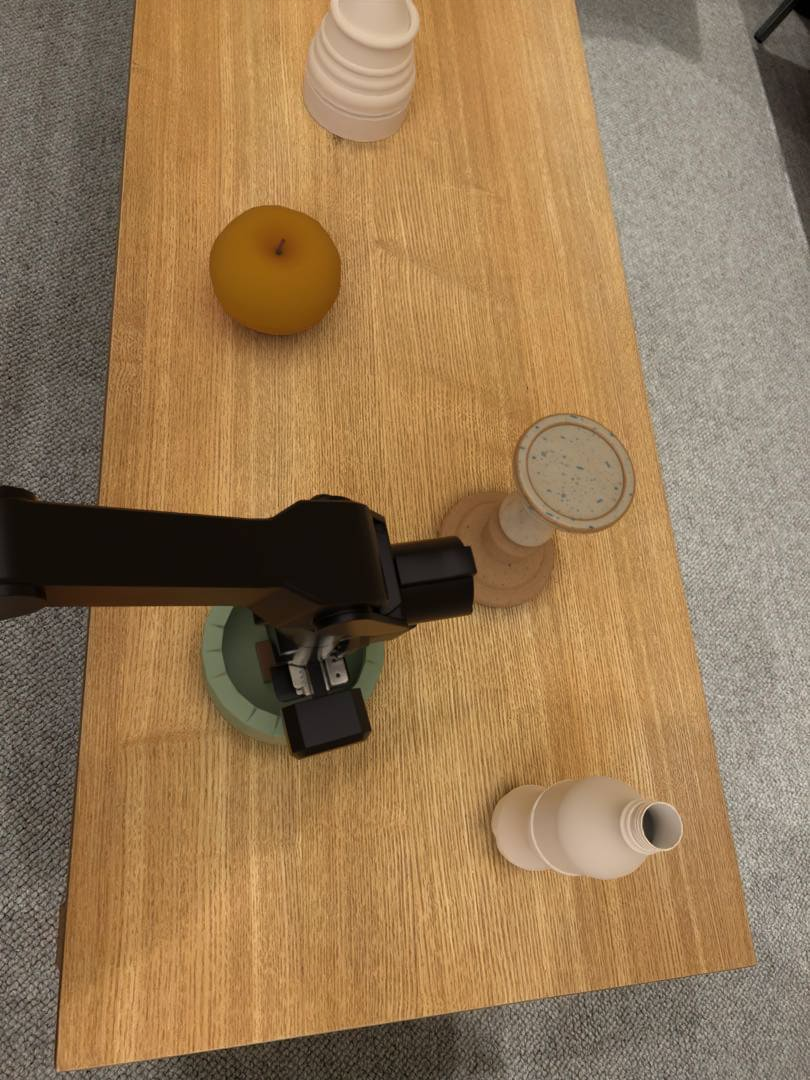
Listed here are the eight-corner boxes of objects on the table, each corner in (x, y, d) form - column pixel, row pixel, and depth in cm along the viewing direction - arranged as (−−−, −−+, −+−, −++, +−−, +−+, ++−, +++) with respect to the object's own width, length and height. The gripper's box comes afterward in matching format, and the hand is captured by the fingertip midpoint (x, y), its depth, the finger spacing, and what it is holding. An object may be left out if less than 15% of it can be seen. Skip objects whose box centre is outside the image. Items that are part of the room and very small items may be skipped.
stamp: (263, 686, 72) (267, 672, 66) (254, 648, 73) (257, 631, 67) (327, 669, 74) (337, 654, 68) (318, 632, 75) (327, 614, 69)
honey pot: (427, 110, 101) (470, -31, 84) (358, 159, 96) (390, 19, 79) (351, 44, 102) (380, -108, 85) (280, 89, 97) (295, -64, 80)
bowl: (222, 765, 70) (224, 759, 64) (187, 599, 74) (185, 578, 68) (388, 720, 75) (405, 710, 68) (346, 566, 79) (358, 542, 72)
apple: (346, 351, 87) (365, 285, 76) (226, 373, 83) (229, 306, 72) (310, 252, 90) (324, 176, 79) (194, 268, 86) (192, 190, 75)
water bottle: (546, 881, 73) (701, 904, 50) (473, 852, 72) (597, 863, 49) (566, 802, 76) (722, 791, 53) (497, 774, 75) (624, 750, 52)
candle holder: (430, 494, 83) (494, 398, 65) (541, 495, 86) (633, 403, 68) (442, 611, 79) (514, 544, 61) (559, 607, 82) (661, 542, 64)
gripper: (458, 708, 56) (408, 733, 71) (386, 467, 61) (352, 536, 76) (303, 752, 53) (283, 769, 67) (239, 494, 58) (233, 560, 72)
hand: (292, 652), depth 71 cm, fingers closed on stamp, 2 cm apart
